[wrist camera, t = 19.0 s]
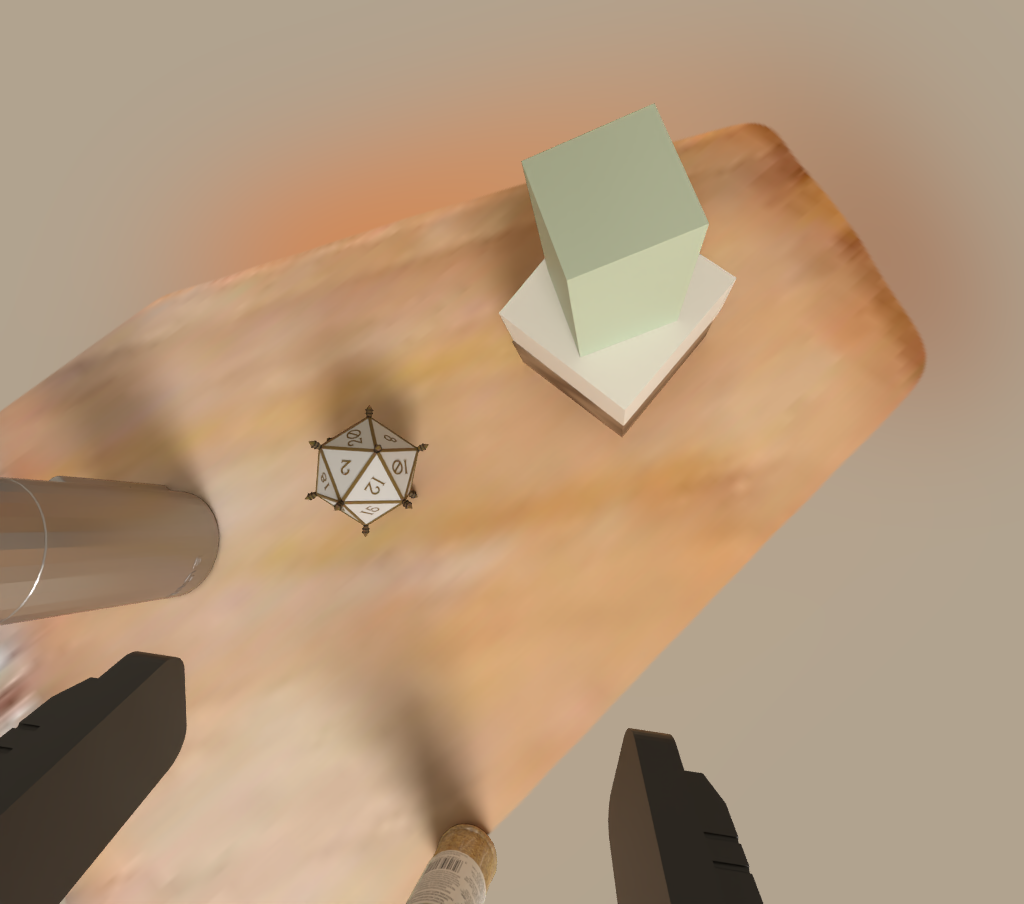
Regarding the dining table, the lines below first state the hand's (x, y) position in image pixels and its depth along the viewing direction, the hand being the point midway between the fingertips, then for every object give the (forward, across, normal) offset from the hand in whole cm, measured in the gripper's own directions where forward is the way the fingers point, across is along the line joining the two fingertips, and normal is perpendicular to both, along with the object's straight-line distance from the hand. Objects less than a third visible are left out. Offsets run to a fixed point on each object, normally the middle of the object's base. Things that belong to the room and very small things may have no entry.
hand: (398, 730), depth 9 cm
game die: (+33, +9, +7) cm, 35 cm away
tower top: (+30, -7, -7) cm, 32 cm away
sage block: (+26, -6, -9) cm, 28 cm away
